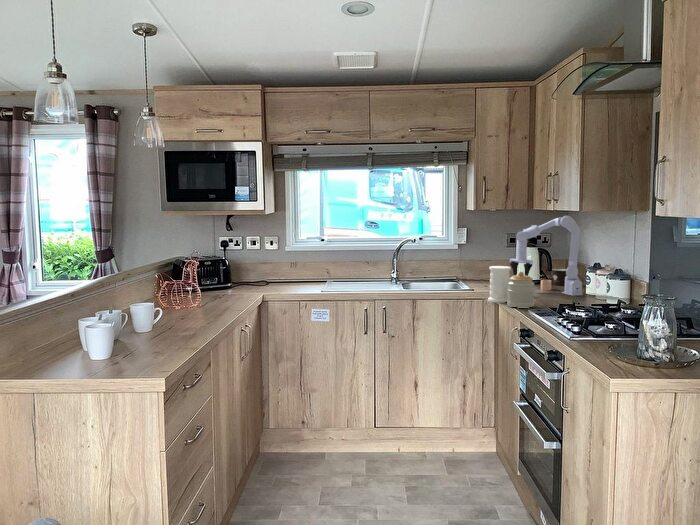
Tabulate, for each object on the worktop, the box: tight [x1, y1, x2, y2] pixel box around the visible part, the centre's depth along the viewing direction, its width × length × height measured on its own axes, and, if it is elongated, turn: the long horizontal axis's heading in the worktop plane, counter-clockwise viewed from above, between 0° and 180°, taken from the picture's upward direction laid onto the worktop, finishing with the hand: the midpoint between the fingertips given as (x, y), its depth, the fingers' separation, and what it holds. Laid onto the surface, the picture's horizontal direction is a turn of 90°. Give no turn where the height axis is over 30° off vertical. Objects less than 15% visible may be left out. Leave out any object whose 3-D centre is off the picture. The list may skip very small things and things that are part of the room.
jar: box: [506, 271, 535, 308], centre depth 271 cm, size 13×13×18 cm
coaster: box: [534, 289, 552, 295], centre depth 312 cm, size 10×10×1 cm
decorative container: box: [487, 265, 512, 304], centre depth 287 cm, size 12×12×18 cm
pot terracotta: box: [540, 279, 553, 291], centre depth 319 cm, size 6×6×6 cm
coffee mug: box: [549, 268, 567, 287], centre depth 337 cm, size 12×9×10 cm
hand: (520, 275), depth 316 cm, fingers open, 7 cm apart
